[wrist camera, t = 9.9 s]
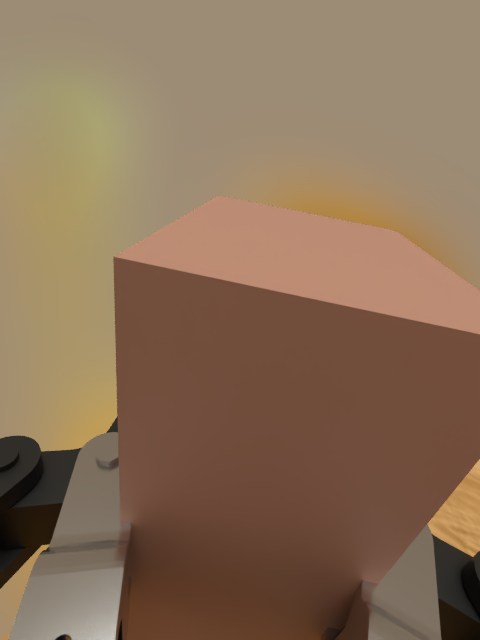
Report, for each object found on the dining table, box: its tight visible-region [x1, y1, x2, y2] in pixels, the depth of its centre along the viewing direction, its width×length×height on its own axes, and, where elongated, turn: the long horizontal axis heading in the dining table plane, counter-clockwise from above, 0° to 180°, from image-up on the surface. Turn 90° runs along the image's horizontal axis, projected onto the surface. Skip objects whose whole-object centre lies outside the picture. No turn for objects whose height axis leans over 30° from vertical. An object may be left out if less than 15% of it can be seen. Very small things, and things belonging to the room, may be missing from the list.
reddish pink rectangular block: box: [114, 196, 480, 640], centre depth 9 cm, size 4×6×16 cm
